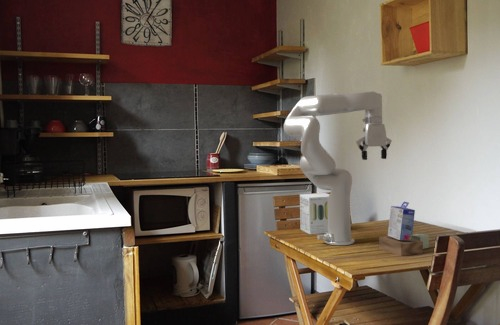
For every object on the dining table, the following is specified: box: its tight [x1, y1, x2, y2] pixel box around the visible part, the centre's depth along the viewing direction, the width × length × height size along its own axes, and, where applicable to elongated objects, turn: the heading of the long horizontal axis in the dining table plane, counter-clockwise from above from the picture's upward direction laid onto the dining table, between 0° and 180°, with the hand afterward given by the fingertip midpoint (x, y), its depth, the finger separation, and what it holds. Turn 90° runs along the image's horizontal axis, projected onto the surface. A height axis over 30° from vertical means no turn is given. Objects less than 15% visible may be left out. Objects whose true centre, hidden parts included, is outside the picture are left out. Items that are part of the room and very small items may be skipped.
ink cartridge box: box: [387, 201, 416, 241], centre depth 201 cm, size 10×6×14 cm, turn 14°
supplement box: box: [299, 192, 330, 235], centre depth 246 cm, size 13×13×18 cm
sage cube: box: [412, 233, 430, 250], centre depth 207 cm, size 5×5×5 cm
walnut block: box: [378, 235, 424, 257], centre depth 202 cm, size 10×14×5 cm
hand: (374, 159), depth 232 cm, fingers open, 9 cm apart
